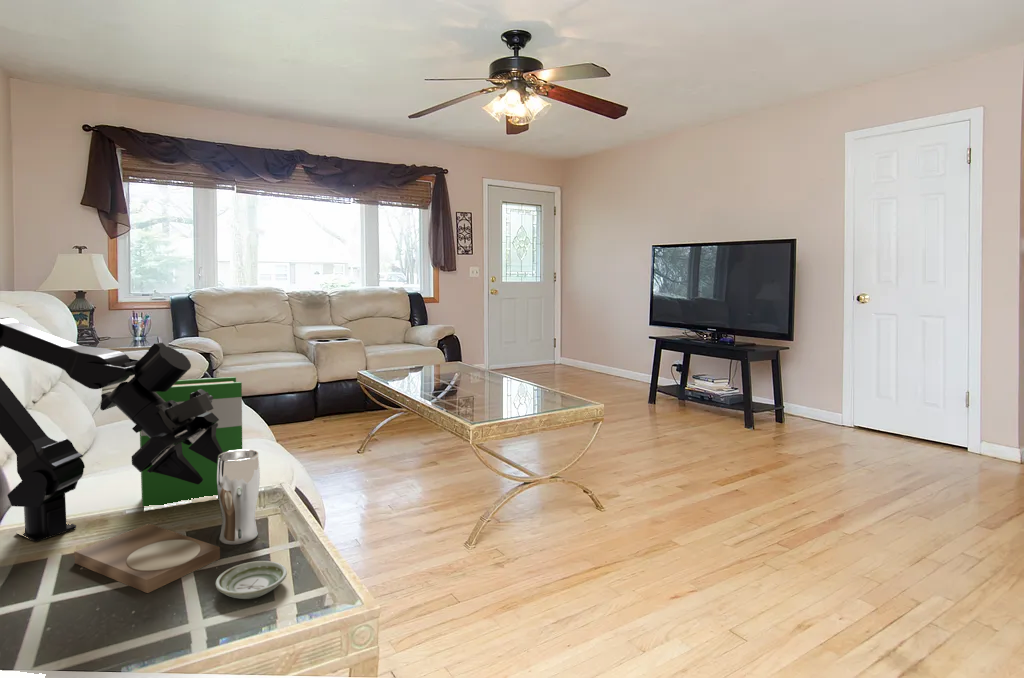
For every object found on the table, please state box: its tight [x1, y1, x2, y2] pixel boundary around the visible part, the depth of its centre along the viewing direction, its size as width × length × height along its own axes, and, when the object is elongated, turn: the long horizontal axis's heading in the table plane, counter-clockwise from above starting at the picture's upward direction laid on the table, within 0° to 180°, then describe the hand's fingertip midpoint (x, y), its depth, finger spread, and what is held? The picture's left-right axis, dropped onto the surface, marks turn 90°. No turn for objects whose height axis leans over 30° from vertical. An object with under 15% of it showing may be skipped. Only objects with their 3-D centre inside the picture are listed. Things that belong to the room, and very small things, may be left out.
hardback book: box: [139, 376, 243, 507], centre depth 120 cm, size 18×7×24 cm, turn 124°
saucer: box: [215, 560, 288, 600], centre depth 87 cm, size 10×10×2 cm
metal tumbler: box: [216, 448, 261, 546], centre depth 103 cm, size 7×7×15 cm
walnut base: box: [74, 523, 221, 594], centre depth 94 cm, size 18×12×2 cm, turn 65°
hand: (214, 473), depth 103 cm, fingers open, 9 cm apart
